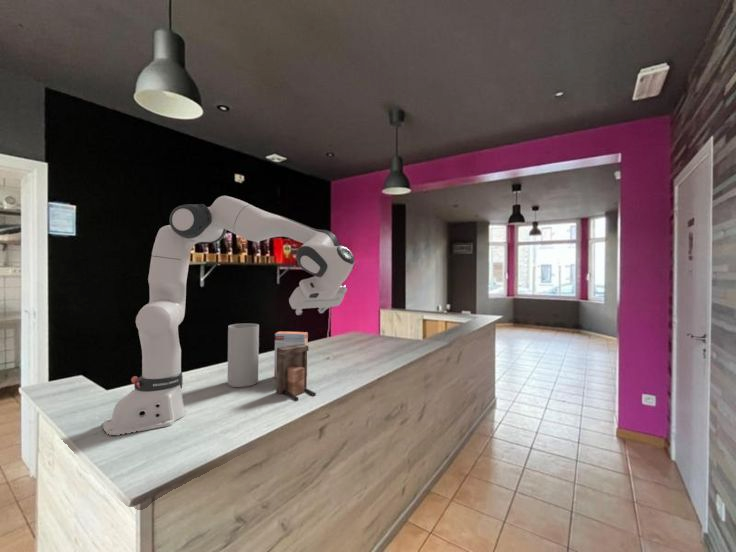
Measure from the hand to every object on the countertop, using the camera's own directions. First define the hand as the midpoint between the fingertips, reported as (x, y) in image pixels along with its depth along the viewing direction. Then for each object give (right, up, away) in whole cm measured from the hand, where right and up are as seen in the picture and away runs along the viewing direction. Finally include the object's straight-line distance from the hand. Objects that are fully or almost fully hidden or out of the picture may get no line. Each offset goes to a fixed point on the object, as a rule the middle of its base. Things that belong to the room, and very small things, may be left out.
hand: (309, 312), depth 124 cm
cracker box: (-14, -34, +33) cm, 50 cm away
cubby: (-7, -34, +13) cm, 37 cm away
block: (-8, -34, +15) cm, 38 cm away
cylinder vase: (-33, -33, +24) cm, 53 cm away
